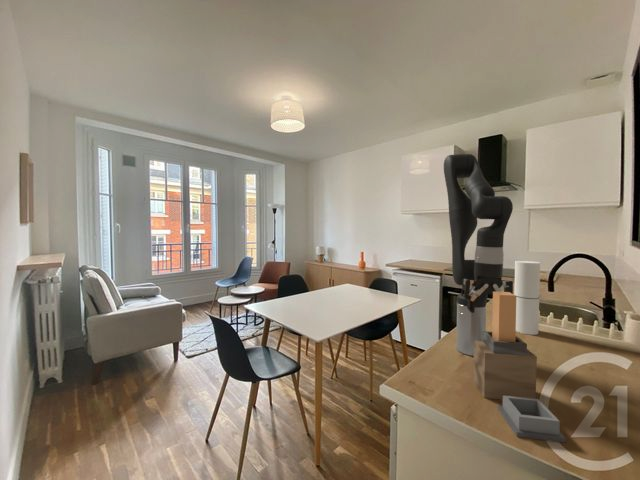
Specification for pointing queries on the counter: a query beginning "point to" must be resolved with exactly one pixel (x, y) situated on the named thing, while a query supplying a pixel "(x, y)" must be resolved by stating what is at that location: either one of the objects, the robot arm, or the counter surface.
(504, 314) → the plug
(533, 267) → the container
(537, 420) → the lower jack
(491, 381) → the square socket base
